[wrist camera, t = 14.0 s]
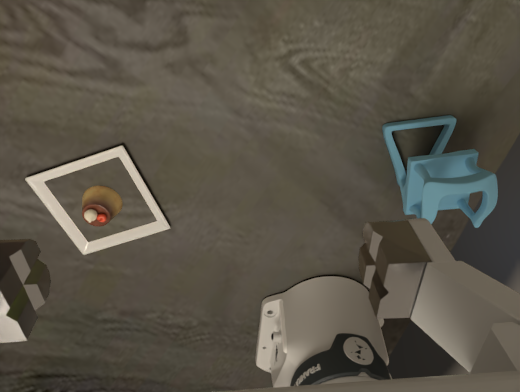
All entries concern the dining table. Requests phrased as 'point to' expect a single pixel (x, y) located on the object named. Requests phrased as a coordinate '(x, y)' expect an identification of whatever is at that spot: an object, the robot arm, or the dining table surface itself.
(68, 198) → the dining table surface
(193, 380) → the dining table surface
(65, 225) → the dessert
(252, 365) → the dining table surface
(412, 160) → the chair
